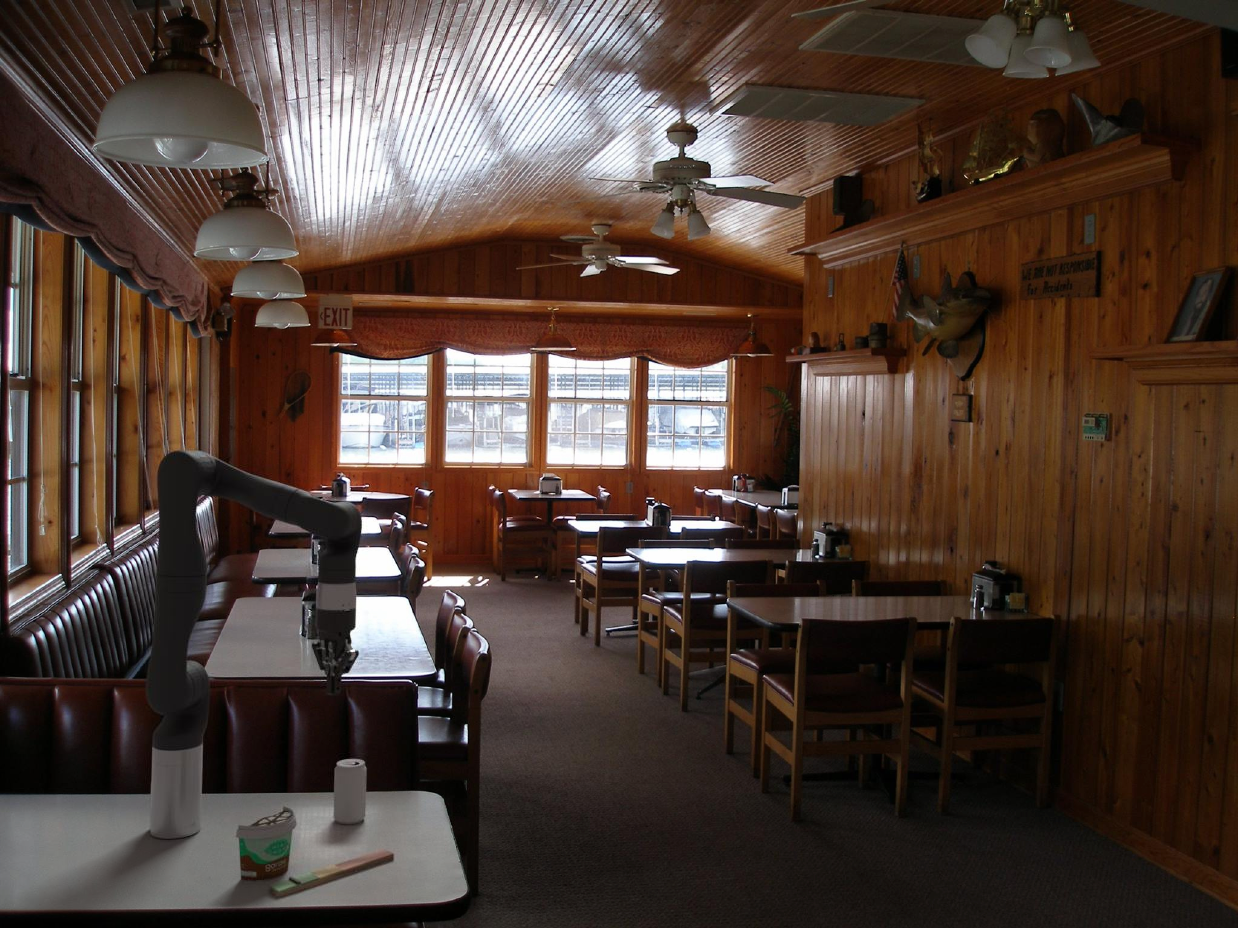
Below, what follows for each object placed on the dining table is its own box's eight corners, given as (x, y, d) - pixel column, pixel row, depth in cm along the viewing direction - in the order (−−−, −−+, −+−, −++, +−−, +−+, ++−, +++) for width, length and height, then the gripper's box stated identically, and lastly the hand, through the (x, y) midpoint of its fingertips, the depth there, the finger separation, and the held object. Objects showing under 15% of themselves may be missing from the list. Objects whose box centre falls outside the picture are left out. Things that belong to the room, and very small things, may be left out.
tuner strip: (269, 891, 184) (269, 883, 184) (384, 854, 202) (384, 846, 202) (278, 896, 182) (278, 888, 182) (393, 859, 200) (393, 851, 200)
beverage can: (356, 826, 216) (358, 768, 216) (327, 823, 217) (329, 765, 217) (370, 816, 222) (372, 759, 222) (341, 813, 224) (343, 756, 223)
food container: (261, 889, 185) (262, 831, 185) (234, 881, 188) (236, 825, 188) (310, 864, 196) (311, 810, 196) (284, 858, 199) (285, 804, 199)
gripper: (300, 602, 208) (297, 691, 208) (339, 611, 199) (336, 703, 199) (333, 599, 213) (330, 685, 214) (372, 607, 205) (370, 697, 205)
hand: (333, 694), depth 207 cm, fingers closed
